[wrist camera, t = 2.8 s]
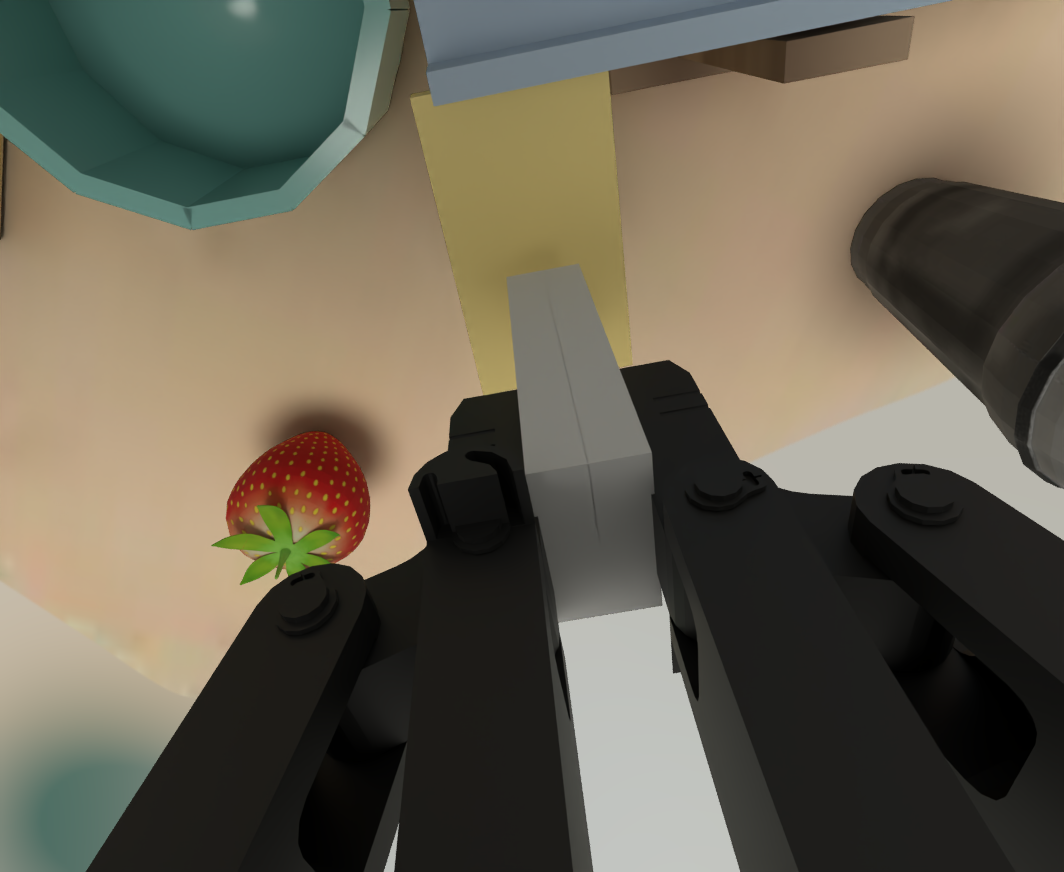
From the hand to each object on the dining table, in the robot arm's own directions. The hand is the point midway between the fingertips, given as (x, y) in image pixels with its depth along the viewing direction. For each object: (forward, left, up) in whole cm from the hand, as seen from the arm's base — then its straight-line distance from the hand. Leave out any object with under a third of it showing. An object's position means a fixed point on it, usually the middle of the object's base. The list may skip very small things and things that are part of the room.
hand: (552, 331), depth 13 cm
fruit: (+9, -11, -12) cm, 19 cm away
